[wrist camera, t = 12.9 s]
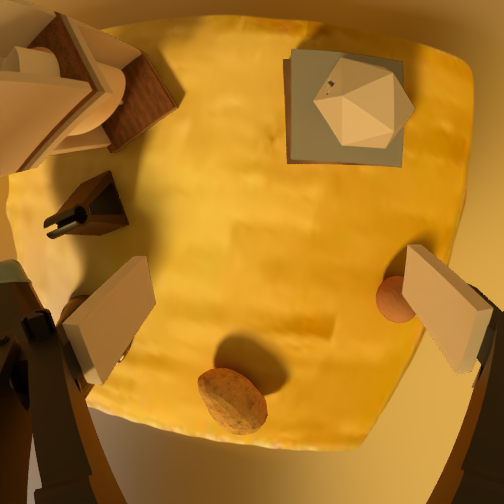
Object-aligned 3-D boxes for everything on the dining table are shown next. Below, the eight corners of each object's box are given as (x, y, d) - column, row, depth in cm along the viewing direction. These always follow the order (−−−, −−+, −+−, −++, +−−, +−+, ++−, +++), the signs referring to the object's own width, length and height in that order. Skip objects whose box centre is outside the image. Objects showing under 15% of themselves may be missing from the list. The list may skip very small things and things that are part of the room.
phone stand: (129, 224, 46) (87, 252, 34) (100, 234, 47) (57, 262, 36) (110, 170, 43) (62, 183, 32) (82, 183, 44) (33, 199, 33)
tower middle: (290, 157, 36) (291, 159, 31) (290, 60, 31) (291, 48, 27) (387, 163, 34) (401, 167, 30) (388, 70, 30) (402, 61, 26)
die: (371, 58, 26) (327, 31, 20) (435, 107, 24) (414, 88, 17) (333, 115, 32) (281, 107, 25) (390, 165, 29) (353, 169, 23)
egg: (378, 264, 44) (395, 289, 36) (414, 271, 44) (435, 296, 36) (365, 301, 46) (378, 331, 39) (400, 307, 46) (417, 336, 38)
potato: (224, 409, 58) (215, 444, 49) (199, 357, 53) (185, 393, 44) (272, 404, 56) (269, 442, 47) (253, 349, 51) (247, 388, 42)
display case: (117, 152, 42) (-104, 214, 9) (88, 98, 39) (-120, 105, 6) (178, 107, 39) (-58, 81, 6) (145, 52, 36) (-62, -21, 3)
